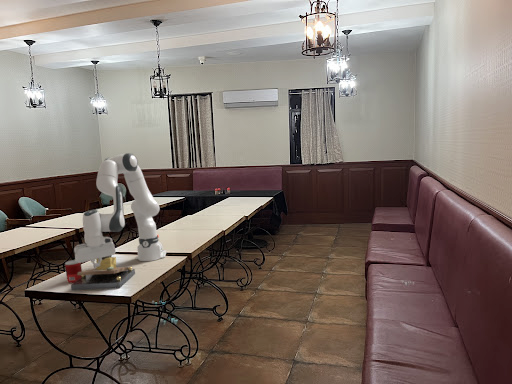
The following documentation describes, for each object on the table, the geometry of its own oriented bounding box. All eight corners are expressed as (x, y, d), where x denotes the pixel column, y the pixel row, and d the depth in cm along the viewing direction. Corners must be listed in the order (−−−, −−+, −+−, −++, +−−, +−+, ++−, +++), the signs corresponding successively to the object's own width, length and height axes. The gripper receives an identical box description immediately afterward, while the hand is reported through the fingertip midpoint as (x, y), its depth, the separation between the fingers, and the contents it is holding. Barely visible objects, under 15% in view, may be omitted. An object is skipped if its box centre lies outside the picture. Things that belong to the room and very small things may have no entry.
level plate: (94, 271, 228) (94, 254, 229) (128, 269, 227) (128, 252, 227) (77, 275, 209) (77, 257, 210) (114, 273, 208) (113, 255, 209)
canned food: (85, 280, 224) (82, 261, 222) (70, 284, 218) (67, 264, 217) (79, 277, 229) (77, 258, 228) (65, 281, 224) (62, 262, 222)
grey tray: (91, 275, 230) (90, 267, 229) (135, 273, 228) (134, 265, 228) (71, 290, 208) (70, 281, 208) (119, 288, 206) (118, 278, 206)
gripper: (75, 246, 200) (79, 273, 202) (115, 238, 214) (117, 263, 215) (71, 244, 205) (74, 270, 206) (110, 236, 218) (113, 260, 220)
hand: (97, 266), depth 211 cm, fingers closed
